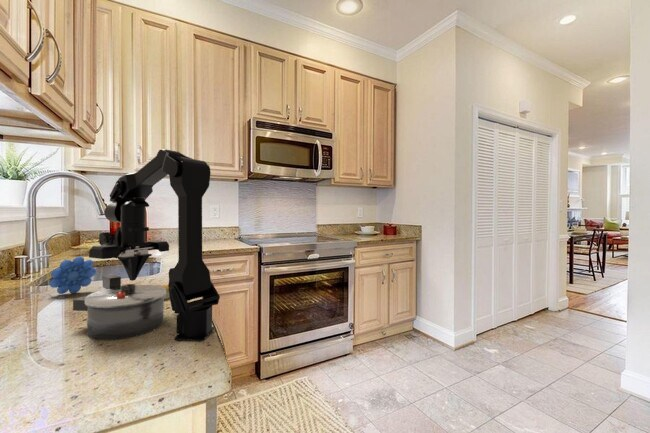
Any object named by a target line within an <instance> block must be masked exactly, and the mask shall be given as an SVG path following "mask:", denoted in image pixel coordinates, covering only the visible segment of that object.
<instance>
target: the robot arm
mask: <svg viewBox="0 0 650 433" xmlns="http://www.w3.org/2000/svg"><path fill="white" fill-rule="evenodd" d="M167 176H168V177H169V184H170V187H171V188H172V190H173V191H174V193H175V195H176V196H177V206H178V209H177V211H178V213H177V215H178V220H177V221H178V222H177V223H178V224H177V225H178V226H177V227H178V230H177V232H178V233H177V234H178V236H177V237H178V244H177V245H178V246H177V247H178V251H177V253H178V261H177V263H176V265H175V266H174V267H171V268H170V269H169V270H168V284H167V285H168V287H169V289H168V291H169V296H170V298H169V301H170V306H171V310H172V311H173V312H174V314H177V315H176V324H175V325H176V331H175V332H176V333H175V334H176V335H175V336H174V340H175V341H195V342H196V341H197V342H198V341H199V342H201V341H202V342H203V341H205V340H206V339H207V338H209V336H210V335H211V334H212V333H213V332H214V331H215V330H216V328H215V326H213V306H216V305H219V302H220V298H221V296H220V294H219V292H218V291H217V289H216V287H215V286H214V284H213V281H212V279H211V271H210V269H209V267H208V266H207V264H206V263H205V261H203V197H204V196H205V193H206V192H207V190H208V189H209V187H210V184H211V183H210V182H211V167H210V165H209V164H208V163H207V162H206V161H204V160H201V159H194V158H192V157H189V156H187V155H185V154H183V153H181V152H180V151H175V150H171V149H167V148H166V149H164V148H163V149H159V150H158V152H157V153H156V155H155V156H154V157H153V158H152V159H151V160H150V161H149V162H147V163H146V164H145V165H143V166H142V168H140V169H139V170H137V171H136V172H132V173H126V174H124V175H122V176H120V177H118V180H116V182H115V184H114V186H113V188H112V189H111V192H110V193H109V197H110V198H109V202H111V203H110V204H108V205H107V206H106V207H105V208H104V211H103V212H104V214H103V215H104V216H105V218H106V220H108V221H109V222H110V223H111V222H113V223H120V226H117V228H116V232H115V233H111V232H109V231H107V232H105V231H104V232H103V231H102V232H101V233H98V234H99V235H98V243H99V245H93V246H91V248H90V249H89V251H88V258H89V259H90V258H91V259H98V260H99V259H100V260H108V259H117V260H119V261H120V263H121V264H122V265H123V267H124V270H125V272H126V275H127V277H128V279H129V281H131V282H133V281H136V280H137V277H138V276H139V274H140V273H141V270H142V268H143V267H144V265H145V263H147V260H148V259H149V257H152V256H153V255H152V253H149V251H153V250H154V251H155V250H157V251H158V252H169V251H170V245H169V243H168V241H167V240H166V241H165V240H148V241H146V232H149V231H150V228H149V227H148V226H147V225H146V223H147V222H146V216H147V213H146V210H147V208H149V207H150V204H149V203H148V202H147V201H146V200H147V199H148V198H149V197H150V196H151V194H152V193H153V190H154V189H153V187H154V186H155V185H156V184H157V183H159V182H160V181H162V180H163V179H164V178H166V177H167ZM199 298H200V299H199ZM195 299H196V300H195ZM191 300H192V301H191Z"/></svg>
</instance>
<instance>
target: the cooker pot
mask: <svg viewBox="0 0 650 433" xmlns="http://www.w3.org/2000/svg"><path fill="white" fill-rule="evenodd" d="M86 296H87V295H86ZM86 296H81V297H78V298H75V299H73V300H72V311H73V312H74V311H75V312H76V311H77V312H86V314H87V318H86V319H87V321H86V322H87V326H86V329H87V330H86V332H87V333H86V335H87V337H88V338H89V339H92V340H97V341H117V340H125V339H130V338H134V337H138V336H142V335H145V334H148V333H150V332H152V331H153V332H154V331H155V330H157V329H159V328H160V327H161V326H163V324H164V322H165V321H164V319H165V314H164V313H165V312H164V310H165V300H164V297H162V298H161V299H158V300H156V301H152V302H149V303H145V304H140V305H135V306H128V307H120V308H93V307H89V306H86V305H85V297H86Z"/></svg>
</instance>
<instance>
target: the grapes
mask: <svg viewBox="0 0 650 433" xmlns="http://www.w3.org/2000/svg"><path fill="white" fill-rule="evenodd" d="M93 266H94V260H92V259H87V260H85V259H84V257H83V256H77V257H75V258H73V260H71V259H65V260H63V261H61V262H60V264H59V268H55V269H52V271H51V272H50V277H51V278H53V279H52V280H51V281H50V282H49V287H51V288H52V289H53V288H54V289H55V288H57V289H56V293H58V294H59V295H60V294H66V293H68V292H69V293H70V294H76V293H78V292H80V291H81V288H82V287H83V288H84V287H88V286H89V285H90V284H91V283H92V277H94V276H95V275H96V274H97V270H96V268H95V267H93Z"/></svg>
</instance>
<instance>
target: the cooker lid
mask: <svg viewBox="0 0 650 433" xmlns="http://www.w3.org/2000/svg"><path fill="white" fill-rule="evenodd" d="M157 285H158V284H140V285H139V284H133V283H129V284H128V283H126V284H123V285H122V277H121V276H119V275H116V274H104V275H102V288H103V289H101V290H98V291H95V292H91V293H89V294H88V295H86V297H85V305H86V306H89V307H93V308H120V307H128V306H135V305H140V304H145V303H149V302H152V301H156V300H158V299H161V298H162V297H164V296H165V295H166V288H165V287H162V286H163V285H161V286H157Z"/></svg>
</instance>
